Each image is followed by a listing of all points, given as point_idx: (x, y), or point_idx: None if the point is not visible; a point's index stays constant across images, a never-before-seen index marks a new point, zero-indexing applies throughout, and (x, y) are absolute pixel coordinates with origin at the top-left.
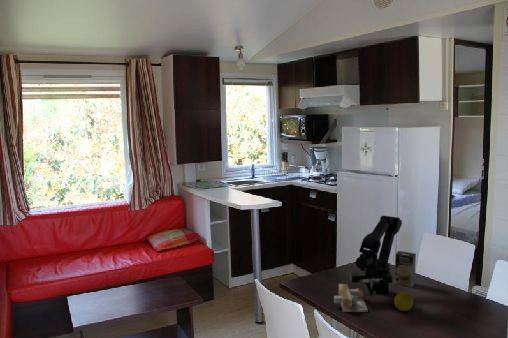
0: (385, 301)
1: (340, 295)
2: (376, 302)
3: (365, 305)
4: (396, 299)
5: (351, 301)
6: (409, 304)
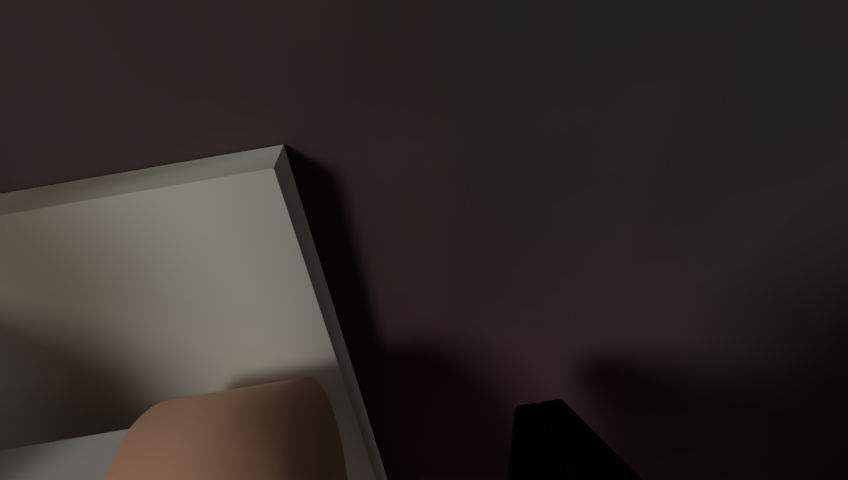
0: (792, 328)
1: None
2: (603, 396)
3: None
4: None
5: None
6: None
